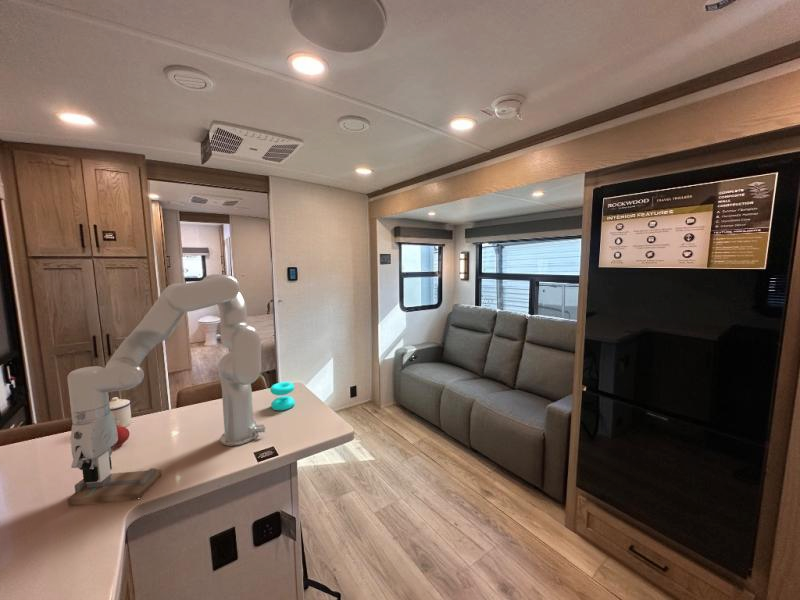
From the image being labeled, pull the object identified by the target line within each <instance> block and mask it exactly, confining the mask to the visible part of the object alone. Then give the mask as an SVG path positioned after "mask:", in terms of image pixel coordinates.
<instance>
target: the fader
mask: <svg viewBox="0 0 800 600" xmlns="http://www.w3.org/2000/svg"><path fill="white" fill-rule="evenodd" d="M86 462H87V463H90V460H86ZM95 467H97V469H98V478H99V479H98V481H97V482H89V483H87V488H91V487H102V486H104V485H106V484H107V483H108V482H109V481H110V480H111V475H110V474H112V472H111V470H110V462H109V453H108V450H106V451H105V452H104V453H102V454H101V455H99V456H98V457H96V458H95Z"/></svg>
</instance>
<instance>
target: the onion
mask: <svg viewBox="0 0 800 600" xmlns="http://www.w3.org/2000/svg"><path fill="white" fill-rule="evenodd" d="M116 427H117V433H118V441H117V442H116V443H115V444H114V445H113V447H121V446H123V444H124V443H126V441H127V440H128V439H129V438H130V434H131V433H130V431H129V429H128V428H127V427H122V426H120V424H117V425H116Z"/></svg>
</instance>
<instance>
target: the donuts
mask: <svg viewBox="0 0 800 600" xmlns="http://www.w3.org/2000/svg"><path fill="white" fill-rule="evenodd" d="M294 390H295V384H294V383H292V382H290V381H284V382H283V381H282V382H278V383H275V384H272V385H271V387H270V390H269V392H270V393H271V394H272V395H275V396H278V397H276V398H275V399H274V400H273V401H272V402H271V403H270V404H271V405H270V406H271V408H272V409H273V410H275V411H285V410H289V409H291V408H293V407H294V406H295V404H296V401H295V399H294V397H292V396H287V395H288V394H291V393H292V392H293V391H294Z"/></svg>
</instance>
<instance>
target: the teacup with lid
mask: <svg viewBox="0 0 800 600" xmlns="http://www.w3.org/2000/svg"><path fill="white" fill-rule="evenodd" d="M109 404H110V411H112V413H113V416H114V419H115V422H116V425H117V424H120V426H122V427H125V428H127V427H129V426H130V425H131V424H132V414H131V413H132V412H131V404H132V403H131V401H130V400H129V399H122V398H119V397H118V396H115V397H112V398H111V400H109ZM129 419H130V420H129ZM118 421H119V422H118ZM128 425H129V426H128ZM126 426H127V427H126Z"/></svg>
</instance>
